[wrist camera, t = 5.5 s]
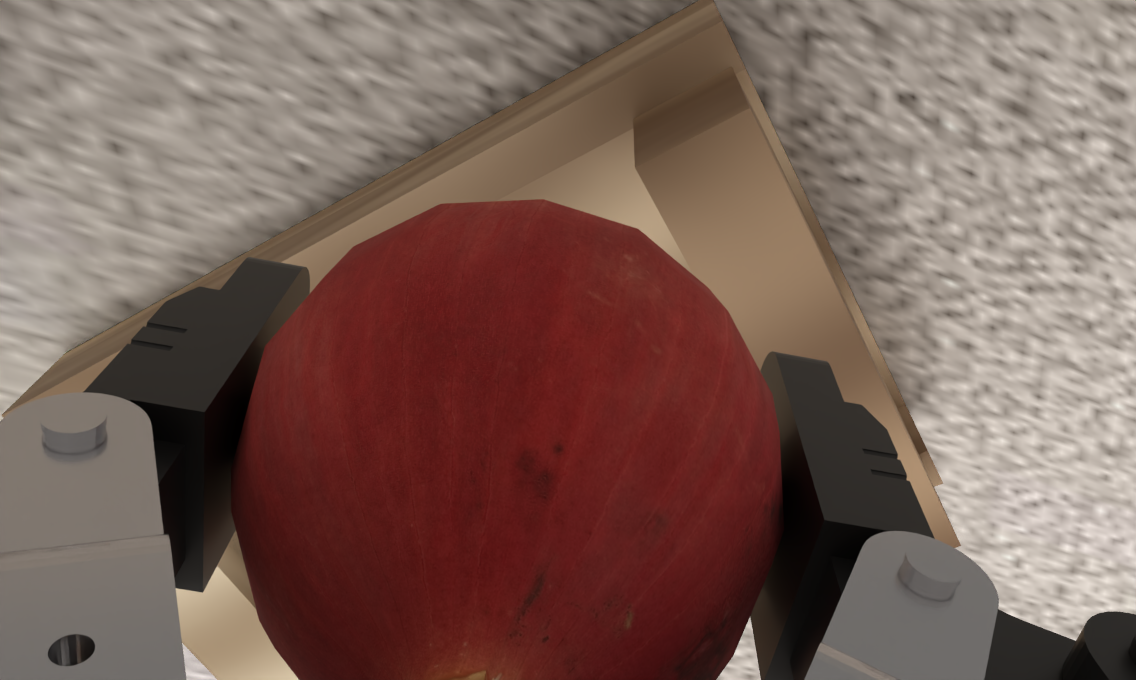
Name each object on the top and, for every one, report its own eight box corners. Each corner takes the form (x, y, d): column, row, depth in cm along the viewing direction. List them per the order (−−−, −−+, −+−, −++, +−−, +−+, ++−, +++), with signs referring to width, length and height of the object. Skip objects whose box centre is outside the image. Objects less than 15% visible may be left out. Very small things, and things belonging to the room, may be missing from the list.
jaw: (136, 371, 30) (34, 488, 24) (202, 335, 29) (112, 448, 24) (361, 635, 34) (315, 781, 29) (422, 610, 33) (386, 755, 28)
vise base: (64, 353, 31) (-79, 493, 25) (710, -6, 25) (739, 55, 19) (327, 653, 37) (265, 830, 30) (909, 413, 31) (985, 570, 24)
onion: (829, 309, 14) (1048, 817, 7) (558, 547, 16) (516, 1119, 9) (508, 24, 12) (367, 309, 5) (254, 331, 15) (-84, 823, 7)
